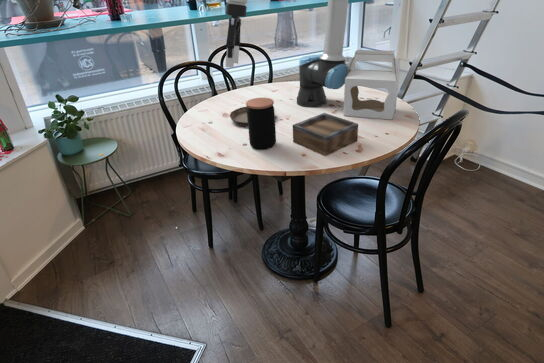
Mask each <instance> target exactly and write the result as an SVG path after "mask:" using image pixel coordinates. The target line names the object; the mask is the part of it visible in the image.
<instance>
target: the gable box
mask: <svg viewBox="0 0 544 363" xmlns="http://www.w3.org/2000/svg"><path fill="white" fill-rule="evenodd" d="M357 62H373V63H374V62H375V63H377V62H378V63H379V62H380V63H391V65H392V66H391V67H392V68H391V70H376V69H375V70H373V69H372V70H371V69H356V63H357ZM400 65H401V59H400V58H396V57H395V51H393V50H376V49H375V50H372V49H370V50H369V49H357V50H355V52H354V56H353V57H351V56H349V58H348V65H347V67H348V72H347V74H346V77H345V84H344V90H343V91H344V94H343V95H344V96H343V98H344V99H343V116H344V117H355V118H366V119H367V118H368V119H377V118H379V120H388V119H390V120H391V121H392V120H393V119H394V115H395V112H396V108H397V102H398V101H397V100H398V93H399V83H400V76H401V75H400V74H401V73H400V69H401V68H400ZM358 87H364V88H369V89H386V90H387V92H388V93H387V96H386V98H385V100H384V101H380V100H377V99H365V100H361V99H359V94H360V93H359V92H360V91H359V88H358Z"/></svg>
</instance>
